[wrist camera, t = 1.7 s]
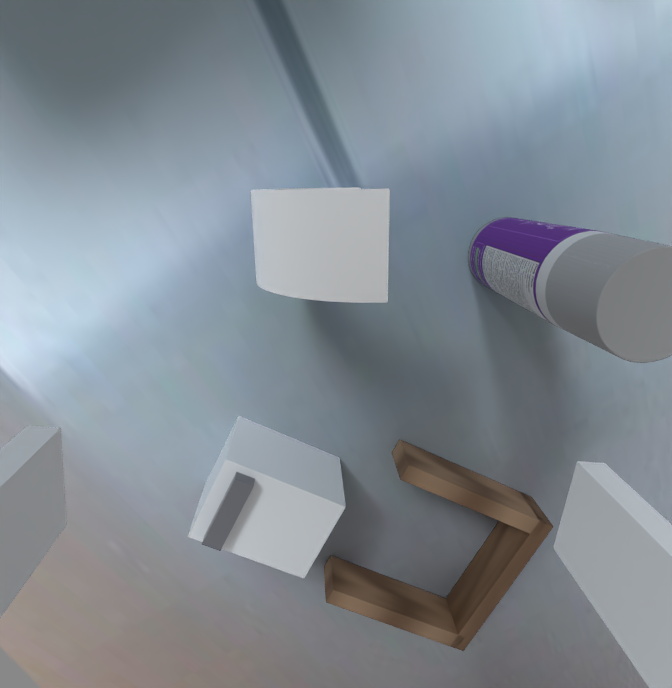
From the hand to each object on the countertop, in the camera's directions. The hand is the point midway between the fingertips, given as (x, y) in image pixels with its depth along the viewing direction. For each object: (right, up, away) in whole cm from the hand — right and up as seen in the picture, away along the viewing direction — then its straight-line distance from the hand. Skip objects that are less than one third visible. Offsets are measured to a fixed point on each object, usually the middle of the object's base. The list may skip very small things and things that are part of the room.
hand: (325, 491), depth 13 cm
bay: (+7, -11, +26) cm, 29 cm away
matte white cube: (-4, -5, +24) cm, 25 cm away
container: (+11, +10, +20) cm, 25 cm away
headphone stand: (-1, +11, +19) cm, 22 cm away
